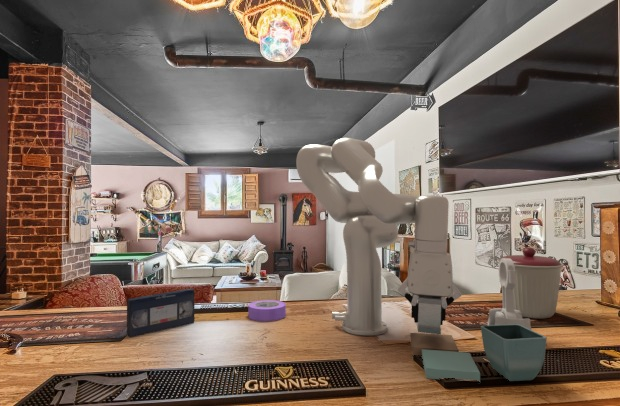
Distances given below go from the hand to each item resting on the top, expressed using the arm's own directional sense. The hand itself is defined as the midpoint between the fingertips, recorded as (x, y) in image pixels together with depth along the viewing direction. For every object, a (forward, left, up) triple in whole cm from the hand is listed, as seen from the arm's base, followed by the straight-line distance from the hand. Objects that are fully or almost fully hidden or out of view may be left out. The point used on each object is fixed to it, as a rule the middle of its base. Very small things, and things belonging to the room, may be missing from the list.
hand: (427, 321), depth 90 cm
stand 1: (+1, -1, -6) cm, 6 cm away
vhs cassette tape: (-72, 0, -7) cm, 72 cm away
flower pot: (+15, -12, -7) cm, 20 cm away
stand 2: (+3, -12, -6) cm, 14 cm away
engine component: (+21, +11, -7) cm, 25 cm away
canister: (+34, +35, -7) cm, 49 cm away
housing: (0, 0, -1) cm, 1 cm away
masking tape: (-47, +18, -7) cm, 51 cm away
